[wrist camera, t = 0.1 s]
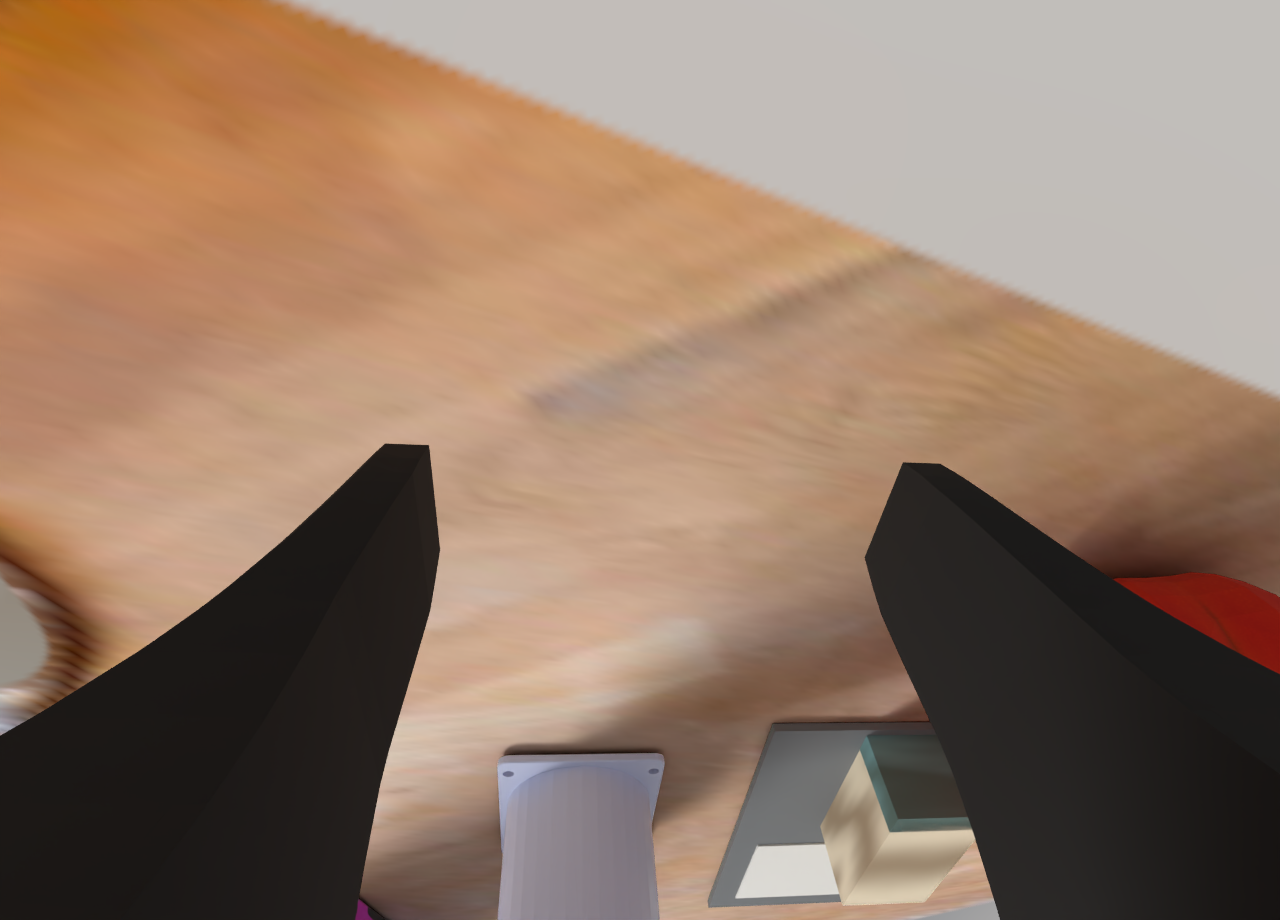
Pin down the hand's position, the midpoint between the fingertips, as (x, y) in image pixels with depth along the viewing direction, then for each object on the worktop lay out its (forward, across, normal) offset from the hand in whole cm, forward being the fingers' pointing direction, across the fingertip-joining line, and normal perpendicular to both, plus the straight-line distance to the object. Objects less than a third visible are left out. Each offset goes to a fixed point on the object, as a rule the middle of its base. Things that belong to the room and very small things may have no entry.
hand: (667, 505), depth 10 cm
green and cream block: (+10, -16, +27) cm, 33 cm away
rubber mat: (+10, -16, +32) cm, 37 cm away
